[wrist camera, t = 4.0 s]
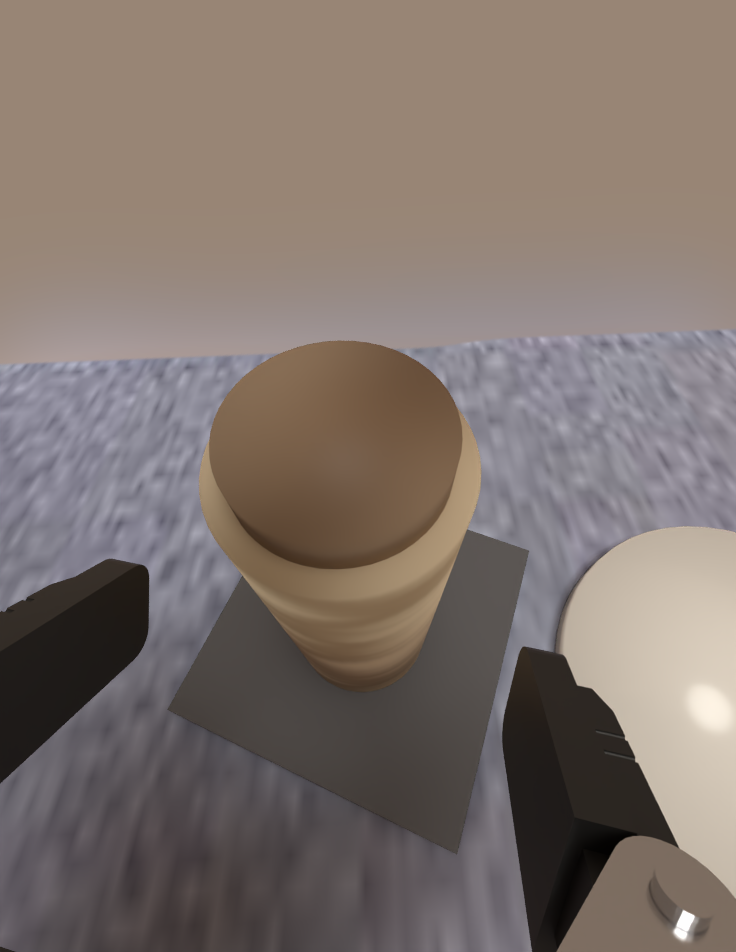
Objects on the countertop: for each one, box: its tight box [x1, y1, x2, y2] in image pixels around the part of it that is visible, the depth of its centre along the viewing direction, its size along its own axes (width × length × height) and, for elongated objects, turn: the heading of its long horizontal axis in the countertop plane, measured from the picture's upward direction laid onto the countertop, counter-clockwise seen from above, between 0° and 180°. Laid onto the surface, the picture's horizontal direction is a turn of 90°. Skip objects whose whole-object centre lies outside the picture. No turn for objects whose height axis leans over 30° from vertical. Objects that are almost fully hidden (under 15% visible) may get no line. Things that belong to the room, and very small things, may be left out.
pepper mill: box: [199, 341, 481, 692], centre depth 14 cm, size 5×5×14 cm
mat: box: [168, 530, 529, 854], centre depth 20 cm, size 12×12×1 cm
